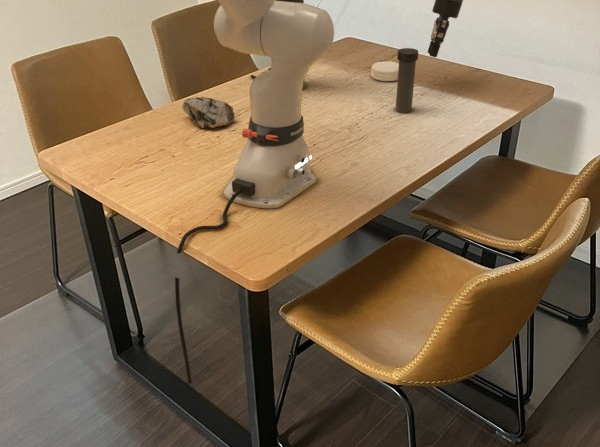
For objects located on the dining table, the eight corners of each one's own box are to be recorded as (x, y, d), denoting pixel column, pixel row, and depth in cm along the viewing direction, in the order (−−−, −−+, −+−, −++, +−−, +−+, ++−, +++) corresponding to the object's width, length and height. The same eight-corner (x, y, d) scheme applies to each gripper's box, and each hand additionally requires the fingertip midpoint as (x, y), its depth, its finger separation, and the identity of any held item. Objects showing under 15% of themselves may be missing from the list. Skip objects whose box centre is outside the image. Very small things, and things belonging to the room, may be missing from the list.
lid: (411, 63, 165) (412, 55, 164) (393, 59, 168) (394, 51, 167) (421, 58, 169) (422, 50, 168) (403, 54, 172) (404, 46, 170)
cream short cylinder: (368, 72, 203) (368, 61, 202) (398, 70, 204) (398, 60, 202) (374, 82, 195) (374, 71, 193) (405, 81, 196) (406, 70, 194)
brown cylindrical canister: (406, 114, 174) (411, 56, 165) (392, 110, 176) (396, 53, 167) (414, 109, 177) (419, 52, 168) (400, 105, 179) (405, 49, 170)
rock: (239, 121, 170) (237, 97, 166) (209, 132, 164) (207, 107, 160) (207, 109, 179) (204, 85, 175) (178, 118, 173) (174, 94, 169)
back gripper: (435, -5, 184) (418, 49, 190) (439, -5, 170) (420, 54, 176) (459, 1, 183) (442, 56, 189) (465, 2, 170) (446, 61, 176)
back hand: (431, 55), depth 183 cm, fingers open, 8 cm apart
